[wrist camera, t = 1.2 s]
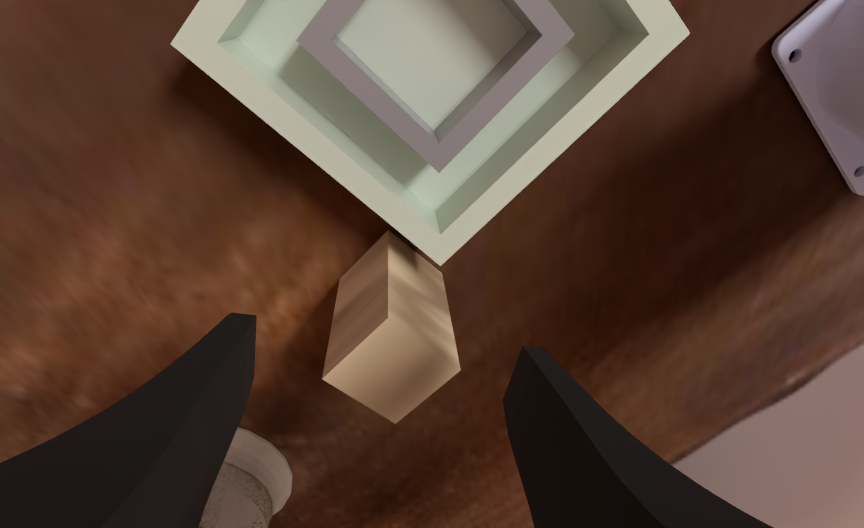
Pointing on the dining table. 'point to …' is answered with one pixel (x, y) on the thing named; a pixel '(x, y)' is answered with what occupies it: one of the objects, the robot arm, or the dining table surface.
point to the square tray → (430, 91)
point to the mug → (248, 485)
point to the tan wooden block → (391, 331)
